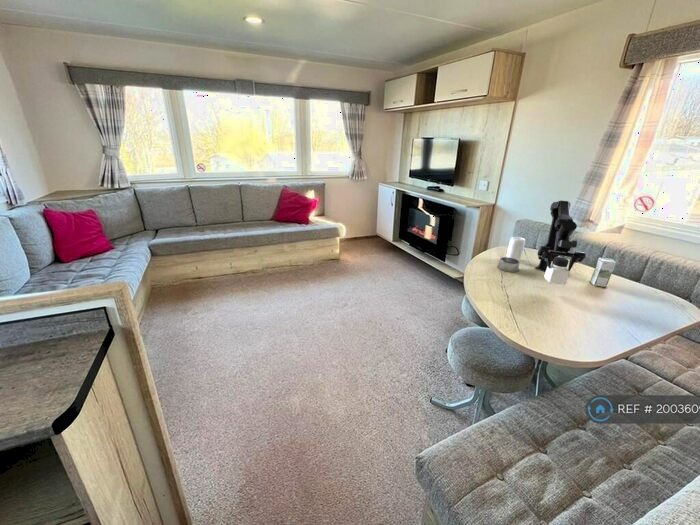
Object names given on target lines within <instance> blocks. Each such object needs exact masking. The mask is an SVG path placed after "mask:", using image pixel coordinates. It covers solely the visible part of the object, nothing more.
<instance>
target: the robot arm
mask: <svg viewBox="0 0 700 525" xmlns="http://www.w3.org/2000/svg"><path fill="white" fill-rule="evenodd" d="M570 208H571V202H570V201H569V200H558V201H554V202H553V201H552V203H551V204H550V208H549V210H550V215H551V218H552V220H551V224H550V227H549V232H548V237H547V240H546V243H545V244H544V245H541V246H540V247H539V248H538V250H537V254H536V256H537V258H538V260H539V263H538V266H536V267H535V269H536V270H539V271H543V272H546V269H547V266H548V268H550V266H551V265H552V263H553V259H554V258H555V257H565V258H566V257H569V258H570V259H569V260H568V261H569V262H568V266H567V270H569V271H570V272H571V270H572V268H573V266H574V264H577V263H582V262H583V261H584V260H585V259H586V257H587V253H586V252H584V251H579V250H575V251H574V253H573V252H571V249H572V248H577V247H578V240H570V239H571V236H572V235H573V234H574V232H575V231H576V229H577V228H578V225H577V223H576V222H575V221H574V217H572V216H570Z"/></svg>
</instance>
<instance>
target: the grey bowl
mask: <svg viewBox="0 0 700 525" xmlns="http://www.w3.org/2000/svg"><path fill="white" fill-rule="evenodd" d="M520 263H521V262H520V260H516V259H513V258H509V257H507V256H505V257H500V258H499V262H498V265H497V268H498V269H499V270H501V271H504V272H508V273H517V272H518V270H519V267H520Z"/></svg>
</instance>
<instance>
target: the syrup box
mask: <svg viewBox="0 0 700 525" xmlns="http://www.w3.org/2000/svg"><path fill="white" fill-rule="evenodd" d="M616 264H617V262H616V261H615V260H614V259H613V258H607V257H598V258H597V262H596V265H595V267H594V270H593V272H592V274H591V278H590V280H589V283H591V284H592V285H593V286H595V287H601V288H607V287H608V284H609V281H610V280H611V276H612V275H613V272H614V269H615V267H616Z"/></svg>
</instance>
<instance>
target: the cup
mask: <svg viewBox="0 0 700 525" xmlns="http://www.w3.org/2000/svg"><path fill="white" fill-rule="evenodd" d="M525 245H526V239H525V238H524V237H521V236H511V238H510V240H509V243H508V247H507V252H506V257H509V258H513V259H516V260H518V261H520V260H521V258H522V256H523V253H524V249H525Z"/></svg>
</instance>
